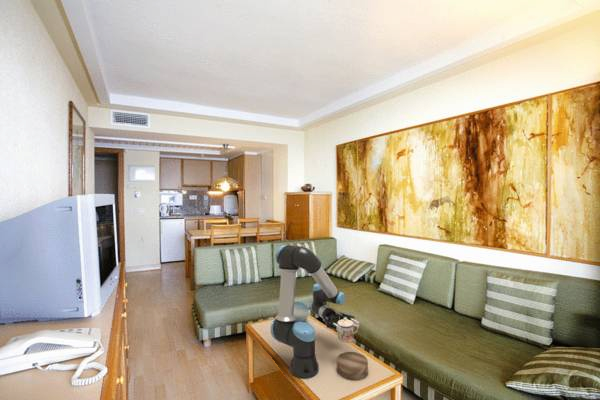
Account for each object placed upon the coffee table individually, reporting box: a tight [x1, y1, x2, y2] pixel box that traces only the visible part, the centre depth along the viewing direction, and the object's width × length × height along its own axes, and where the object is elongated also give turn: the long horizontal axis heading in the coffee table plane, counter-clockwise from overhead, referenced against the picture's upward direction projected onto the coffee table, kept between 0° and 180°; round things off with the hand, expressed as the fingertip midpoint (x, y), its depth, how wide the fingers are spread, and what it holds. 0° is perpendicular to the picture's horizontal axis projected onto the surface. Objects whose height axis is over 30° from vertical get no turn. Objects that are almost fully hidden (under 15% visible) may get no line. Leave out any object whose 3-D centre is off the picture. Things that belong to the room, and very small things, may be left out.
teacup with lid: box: [336, 318, 359, 344], centre depth 160 cm, size 12×9×12 cm
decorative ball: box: [294, 301, 309, 323], centre depth 211 cm, size 15×15×15 cm
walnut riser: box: [336, 351, 369, 381], centre depth 152 cm, size 16×16×6 cm
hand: (349, 327), depth 158 cm, fingers closed on teacup with lid, 12 cm apart
